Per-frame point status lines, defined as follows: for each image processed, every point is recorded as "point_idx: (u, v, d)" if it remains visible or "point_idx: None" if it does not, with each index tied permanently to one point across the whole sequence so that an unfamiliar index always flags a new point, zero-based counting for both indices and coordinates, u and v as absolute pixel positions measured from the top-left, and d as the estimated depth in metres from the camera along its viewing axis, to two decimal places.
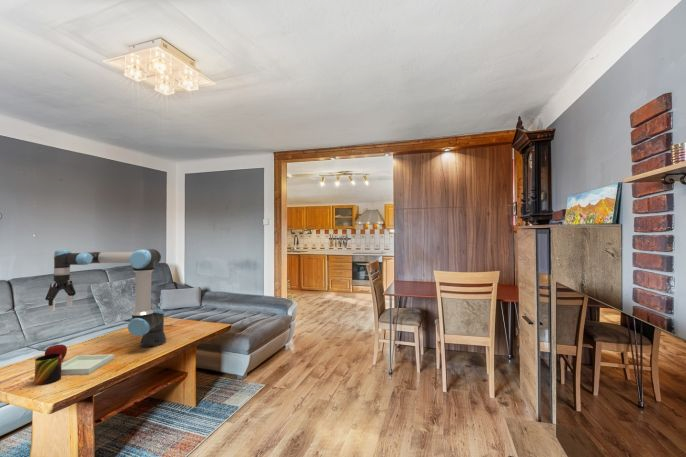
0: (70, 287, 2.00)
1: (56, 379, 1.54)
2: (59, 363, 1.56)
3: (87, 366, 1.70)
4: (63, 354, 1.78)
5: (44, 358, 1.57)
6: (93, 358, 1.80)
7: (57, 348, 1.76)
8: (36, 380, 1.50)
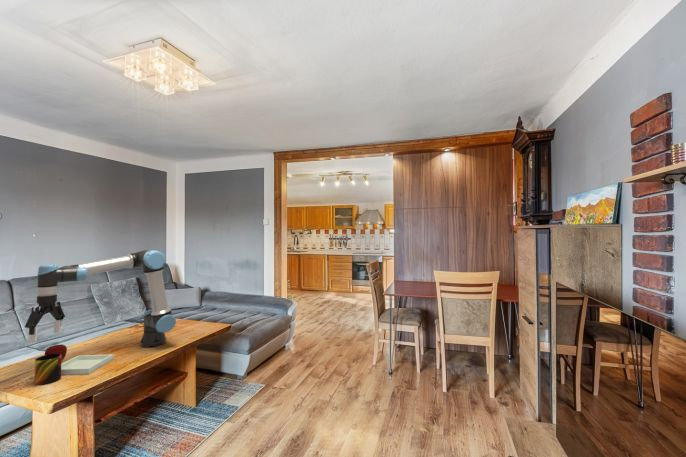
0: (58, 310, 1.65)
1: (56, 379, 1.54)
2: (59, 363, 1.56)
3: (87, 366, 1.70)
4: (63, 354, 1.78)
5: (44, 358, 1.57)
6: (93, 358, 1.80)
7: (57, 348, 1.76)
8: (36, 380, 1.50)
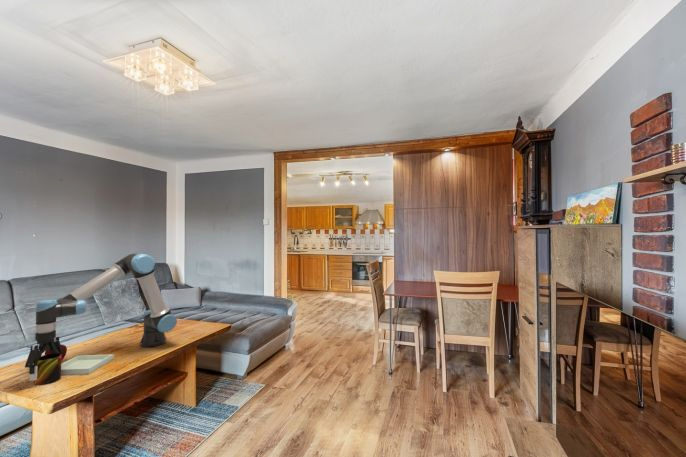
0: (56, 345, 1.62)
1: (56, 379, 1.54)
2: (59, 363, 1.56)
3: (87, 366, 1.70)
4: (63, 354, 1.78)
5: (44, 358, 1.57)
6: (93, 358, 1.80)
7: None
8: (36, 380, 1.50)
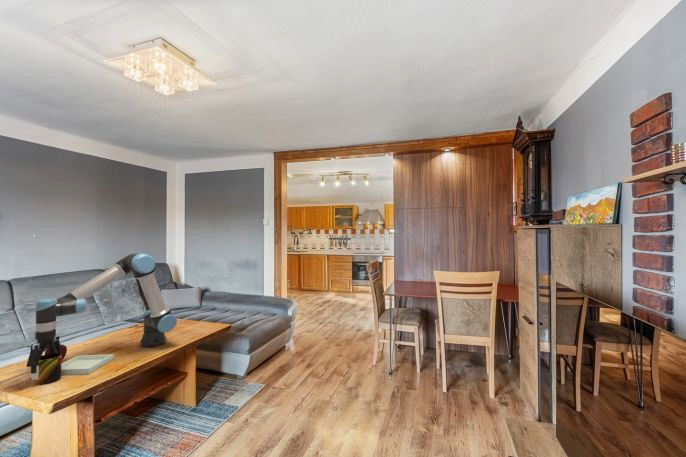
0: (56, 345, 1.62)
1: (56, 379, 1.54)
2: (59, 363, 1.56)
3: (87, 366, 1.70)
4: (63, 354, 1.78)
5: (44, 358, 1.57)
6: (93, 358, 1.80)
7: None
8: (36, 380, 1.50)
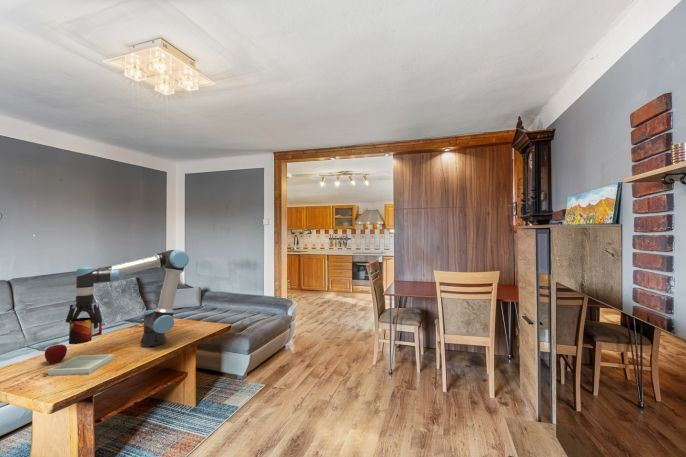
0: None
1: (71, 342, 1.65)
2: (75, 328, 1.65)
3: (87, 366, 1.70)
4: (63, 354, 1.78)
5: None
6: (93, 358, 1.80)
7: (57, 348, 1.76)
8: None
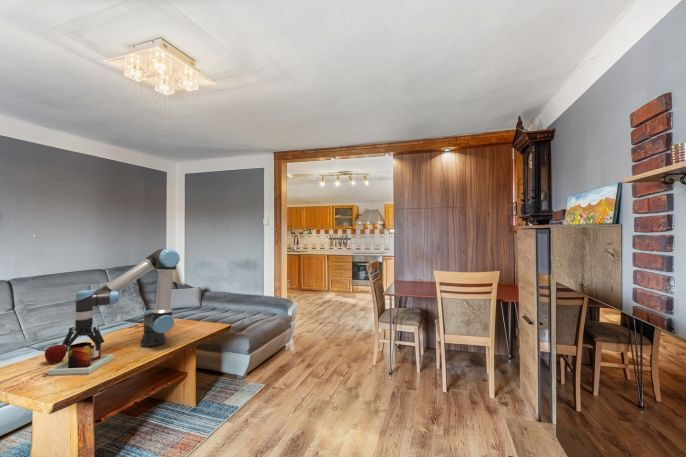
0: None
1: None
2: (74, 354, 1.65)
3: None
4: (63, 354, 1.78)
5: (89, 345, 1.74)
6: None
7: (57, 348, 1.76)
8: None
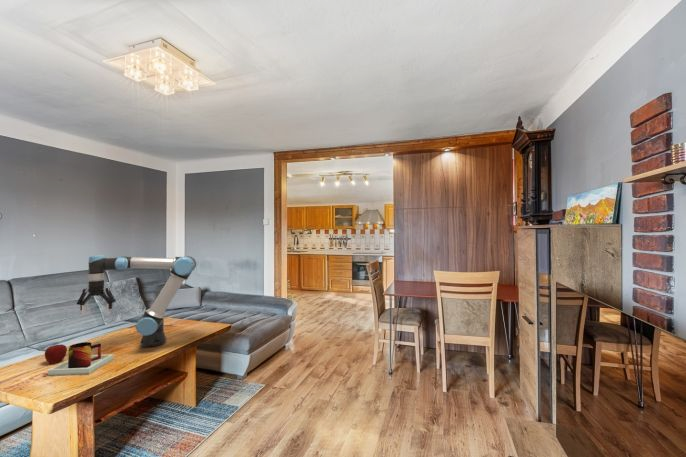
0: None
1: None
2: (74, 354, 1.65)
3: None
4: (63, 354, 1.78)
5: (89, 345, 1.74)
6: None
7: (57, 348, 1.76)
8: None
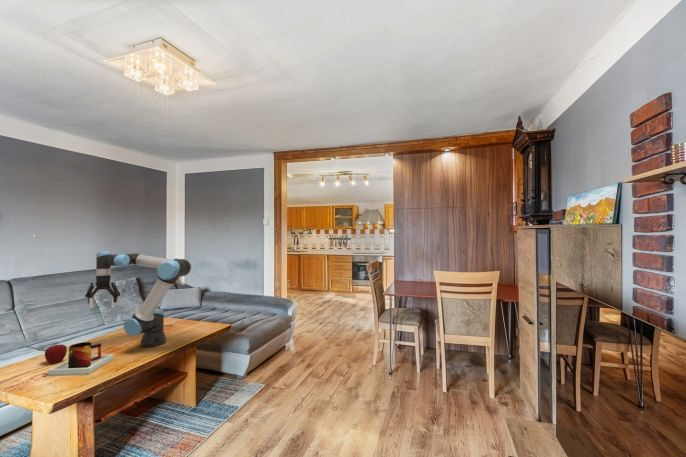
0: None
1: None
2: (74, 354, 1.65)
3: None
4: (63, 354, 1.78)
5: (89, 345, 1.74)
6: None
7: (57, 348, 1.76)
8: None
